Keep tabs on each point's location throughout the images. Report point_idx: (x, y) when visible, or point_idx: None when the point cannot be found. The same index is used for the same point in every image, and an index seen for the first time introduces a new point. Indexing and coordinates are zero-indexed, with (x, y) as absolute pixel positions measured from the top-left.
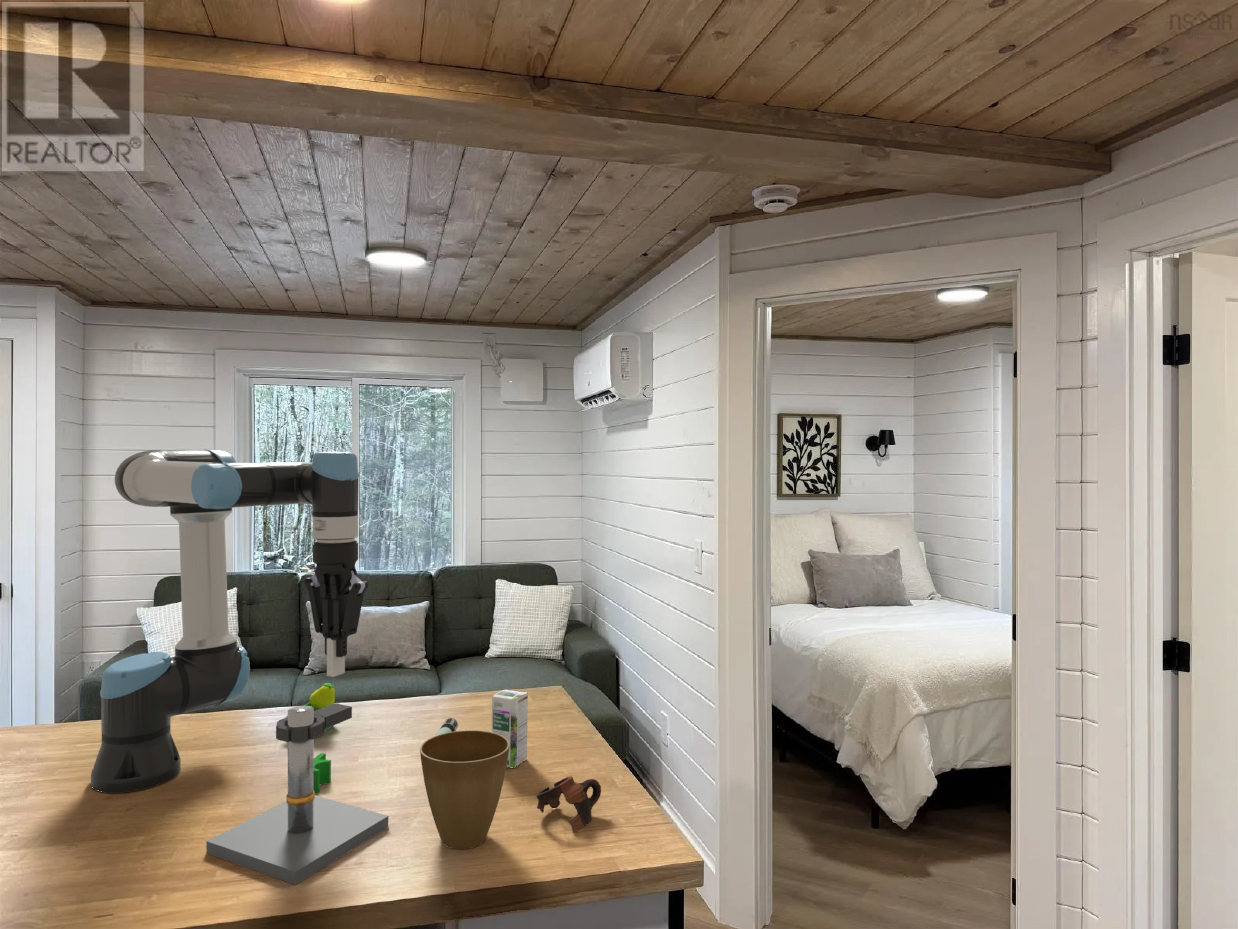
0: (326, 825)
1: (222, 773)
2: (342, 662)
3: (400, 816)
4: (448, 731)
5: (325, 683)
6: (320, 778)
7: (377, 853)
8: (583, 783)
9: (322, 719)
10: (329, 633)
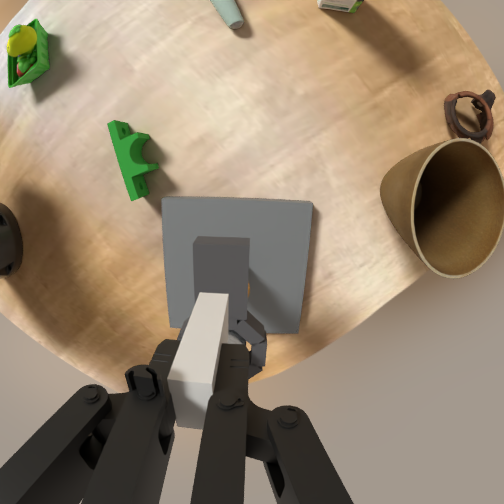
0: (257, 254)
1: (36, 190)
2: (224, 323)
3: (305, 171)
4: None
5: (9, 33)
6: (139, 147)
7: (334, 253)
8: (489, 103)
9: (251, 332)
10: (171, 433)
